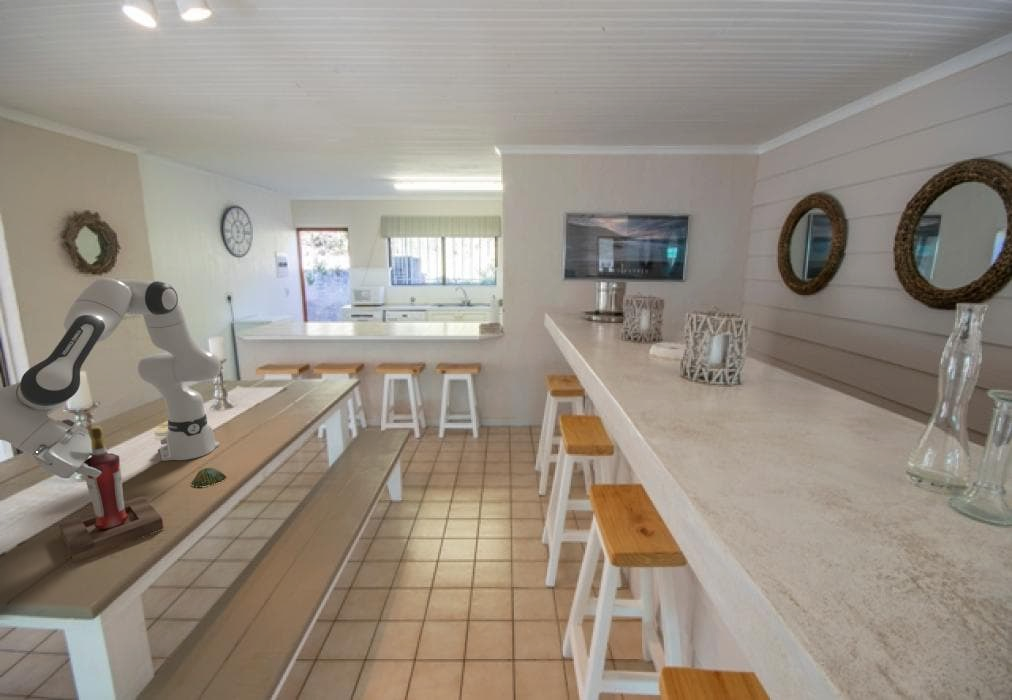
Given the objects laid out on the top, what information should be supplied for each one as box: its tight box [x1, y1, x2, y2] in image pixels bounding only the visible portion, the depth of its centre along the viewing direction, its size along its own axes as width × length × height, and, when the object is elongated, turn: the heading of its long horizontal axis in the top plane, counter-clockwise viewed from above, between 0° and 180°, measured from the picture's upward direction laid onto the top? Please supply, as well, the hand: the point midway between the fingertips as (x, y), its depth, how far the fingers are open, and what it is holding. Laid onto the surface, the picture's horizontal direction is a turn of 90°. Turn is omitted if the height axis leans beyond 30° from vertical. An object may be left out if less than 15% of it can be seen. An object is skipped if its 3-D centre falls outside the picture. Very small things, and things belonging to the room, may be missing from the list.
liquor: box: [84, 425, 128, 530], centre depth 118 cm, size 7×7×28 cm
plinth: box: [59, 495, 164, 564], centre depth 121 cm, size 18×18×4 cm
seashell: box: [190, 467, 227, 488], centre depth 150 cm, size 10×4×10 cm
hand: (105, 467), depth 118 cm, fingers closed on liquor, 7 cm apart
